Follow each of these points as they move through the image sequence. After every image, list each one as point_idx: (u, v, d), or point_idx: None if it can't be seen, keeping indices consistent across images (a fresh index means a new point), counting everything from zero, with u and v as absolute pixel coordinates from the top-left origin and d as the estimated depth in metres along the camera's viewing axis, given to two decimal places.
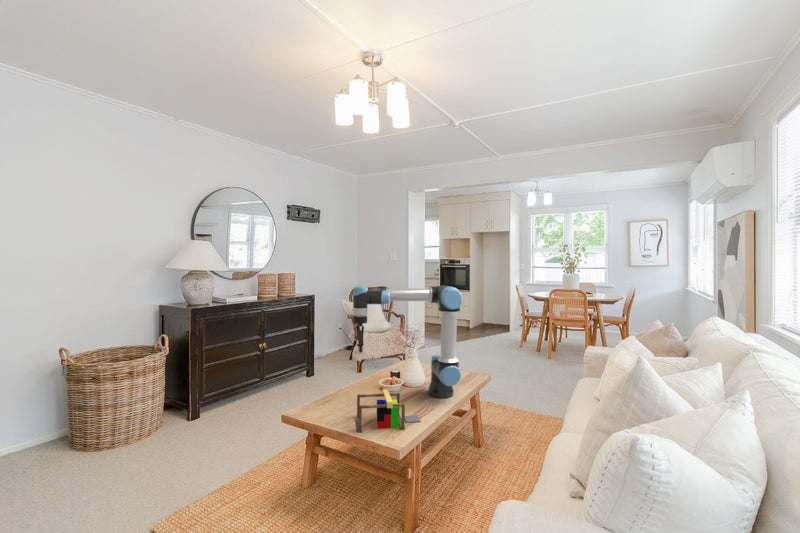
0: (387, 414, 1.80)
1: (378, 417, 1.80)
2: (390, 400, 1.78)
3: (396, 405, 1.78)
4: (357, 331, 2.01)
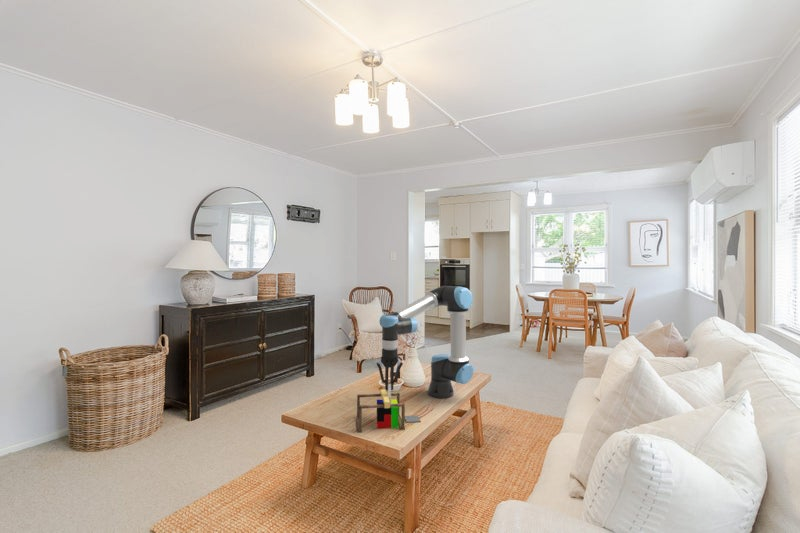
0: (387, 414, 1.80)
1: (378, 417, 1.80)
2: (387, 400, 1.78)
3: (396, 405, 1.78)
4: None
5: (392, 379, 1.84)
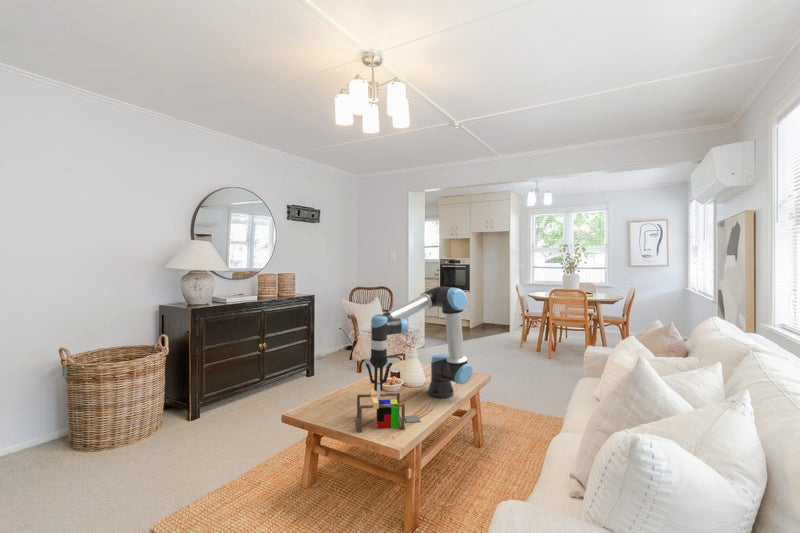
0: (387, 414, 1.80)
1: (378, 417, 1.80)
2: (376, 401, 1.77)
3: (396, 405, 1.78)
4: None
5: (381, 379, 1.83)
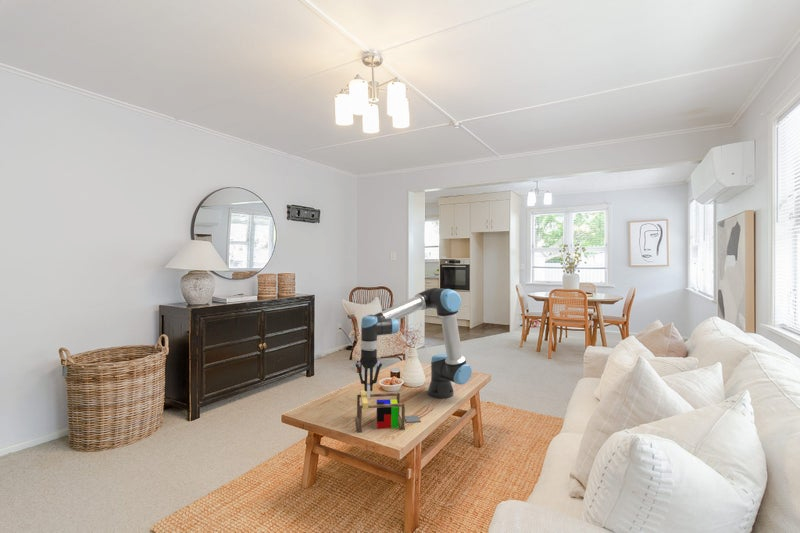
0: (387, 414, 1.80)
1: (378, 417, 1.80)
2: (366, 401, 1.76)
3: (396, 405, 1.78)
4: None
5: (371, 380, 1.82)
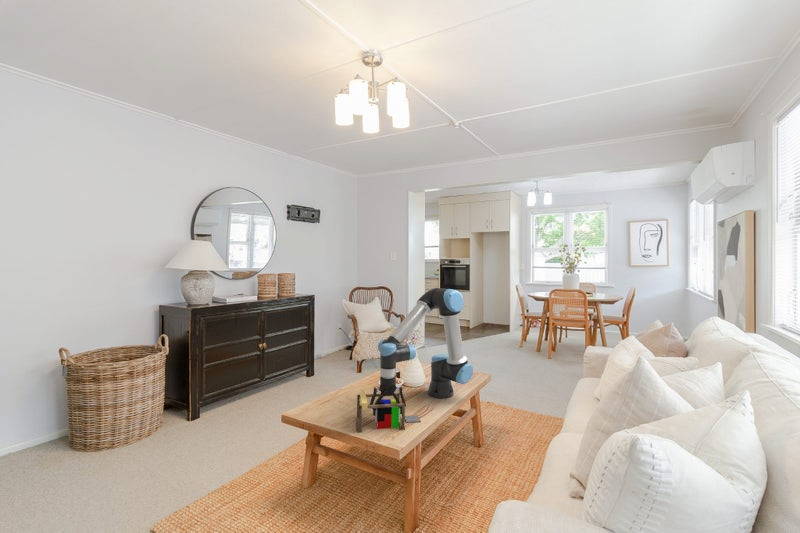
0: (387, 414, 1.80)
1: (378, 417, 1.79)
2: (365, 401, 1.76)
3: (396, 405, 1.78)
4: (381, 392, 1.86)
5: None
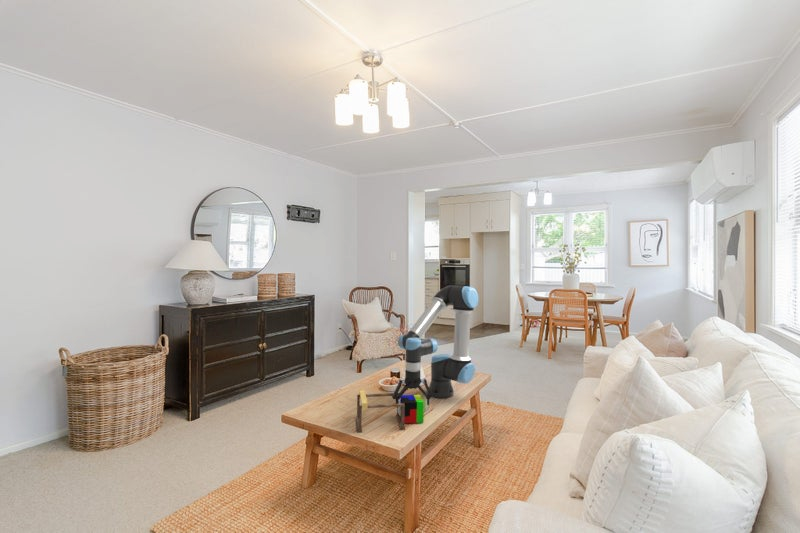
0: (413, 409, 1.85)
1: None
2: (365, 401, 1.76)
3: (396, 405, 1.78)
4: None
5: (426, 395, 1.90)
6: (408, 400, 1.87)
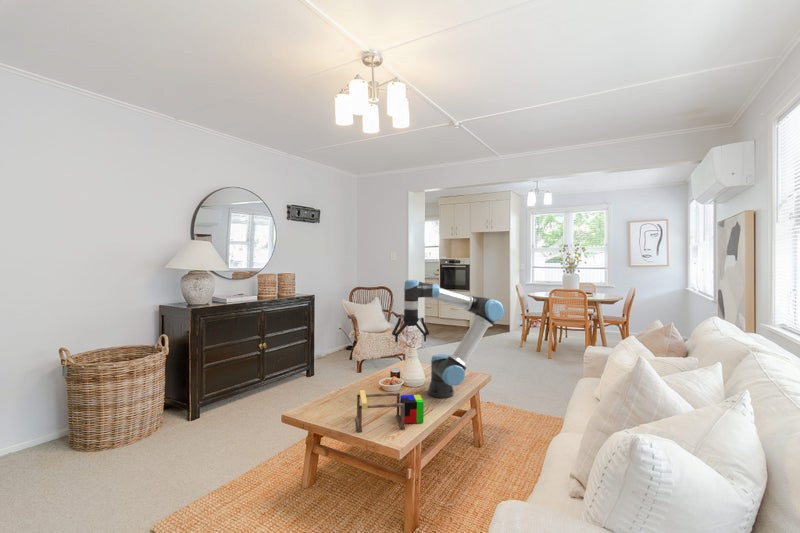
0: (413, 409, 1.85)
1: None
2: (365, 401, 1.76)
3: (396, 405, 1.78)
4: None
5: (423, 332, 2.06)
6: (408, 400, 1.87)
